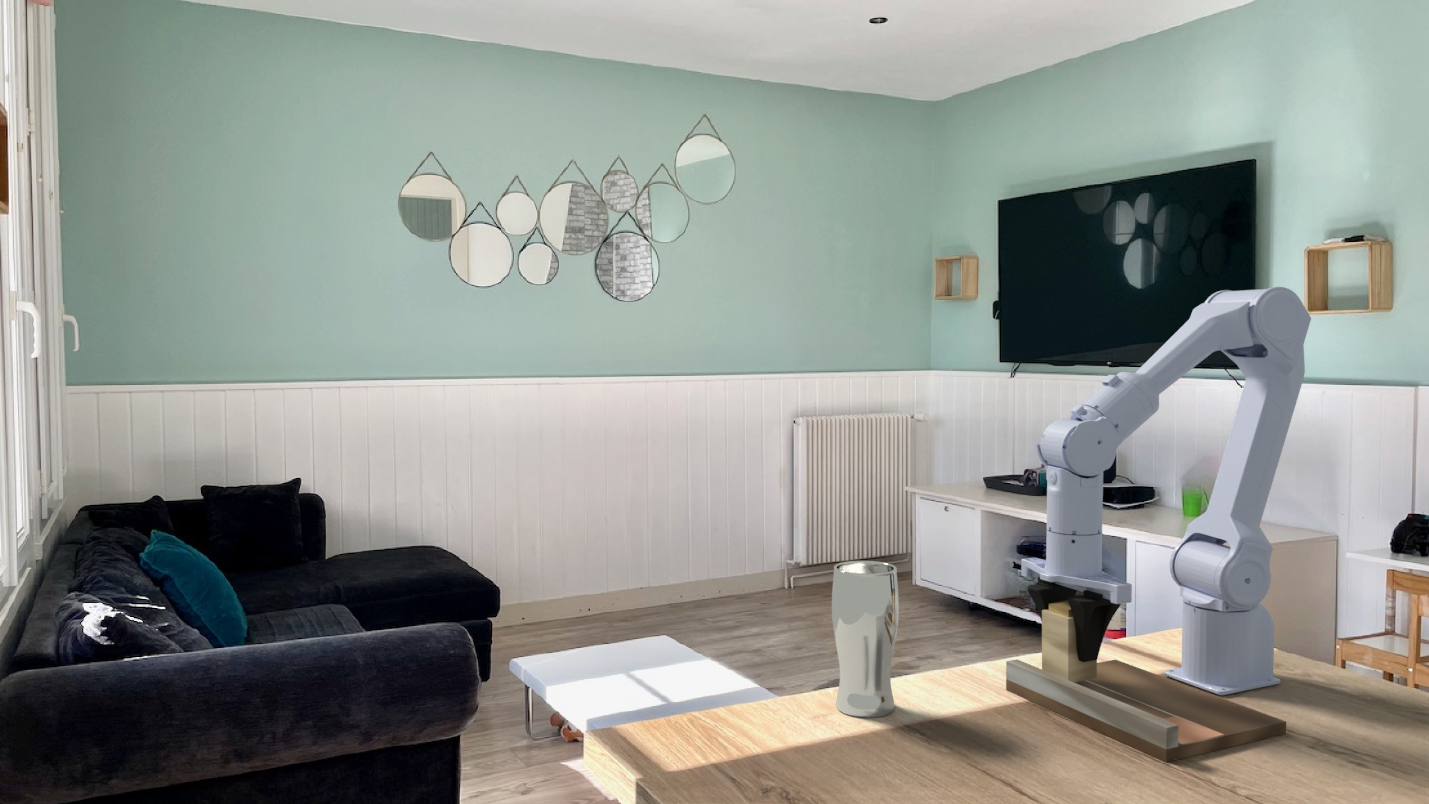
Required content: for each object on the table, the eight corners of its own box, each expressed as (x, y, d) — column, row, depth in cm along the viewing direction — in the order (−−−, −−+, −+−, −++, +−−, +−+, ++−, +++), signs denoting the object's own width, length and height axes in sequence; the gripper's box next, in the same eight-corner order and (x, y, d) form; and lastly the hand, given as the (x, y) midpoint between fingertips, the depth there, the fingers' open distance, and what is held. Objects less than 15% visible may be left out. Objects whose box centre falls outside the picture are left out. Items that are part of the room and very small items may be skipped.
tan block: (1070, 667, 118) (1070, 598, 117) (1096, 677, 114) (1096, 606, 114) (1042, 672, 116) (1041, 603, 116) (1068, 683, 113) (1068, 611, 112)
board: (1115, 669, 123) (1115, 642, 123) (1286, 733, 103) (1286, 701, 103) (1006, 689, 117) (1006, 661, 117) (1165, 762, 97) (1166, 727, 97)
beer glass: (896, 697, 115) (896, 560, 114) (901, 720, 108) (901, 575, 107) (831, 695, 115) (831, 559, 114) (832, 718, 108) (832, 574, 108)
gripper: (1000, 523, 119) (999, 641, 120) (1095, 545, 106) (1093, 678, 107) (1049, 518, 122) (1047, 633, 123) (1147, 539, 109) (1145, 669, 110)
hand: (1072, 654), depth 115 cm, fingers closed on tan block, 4 cm apart
